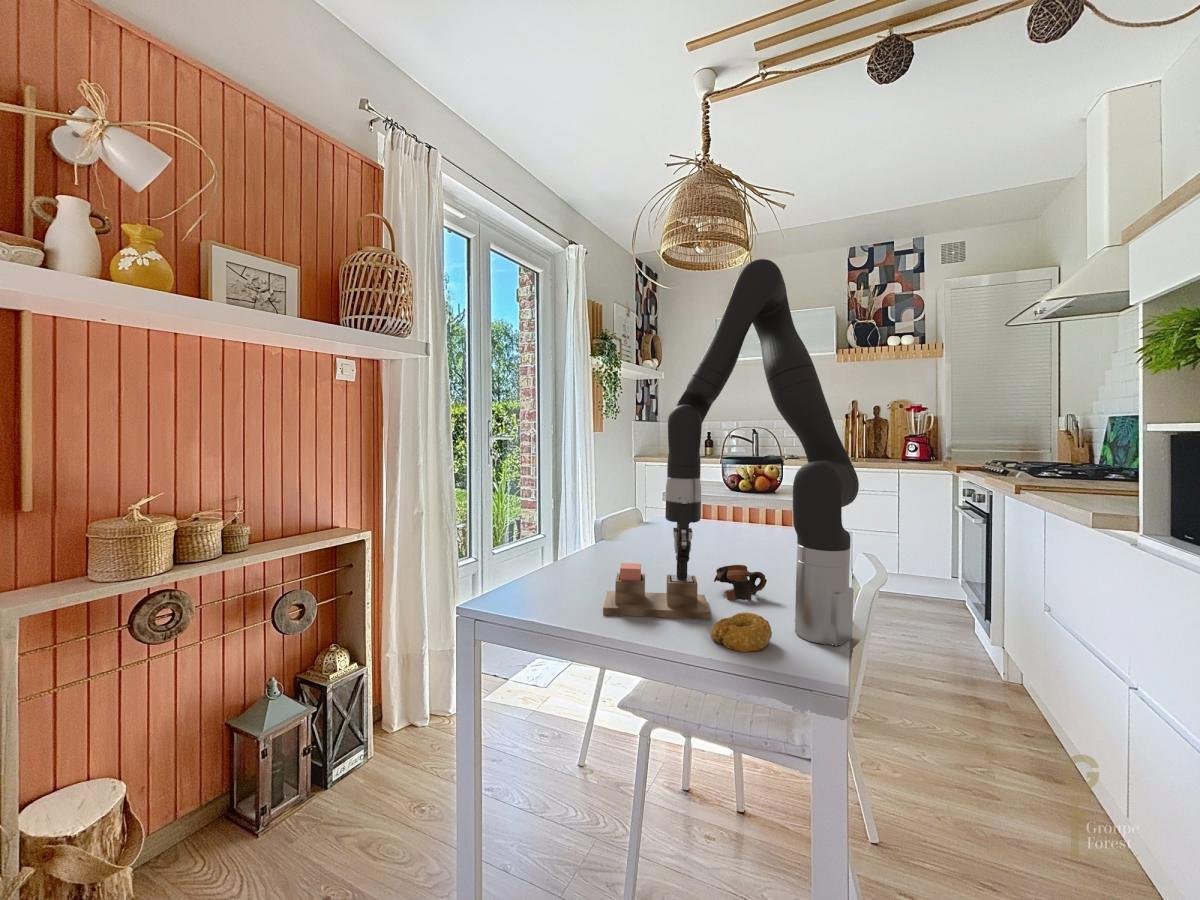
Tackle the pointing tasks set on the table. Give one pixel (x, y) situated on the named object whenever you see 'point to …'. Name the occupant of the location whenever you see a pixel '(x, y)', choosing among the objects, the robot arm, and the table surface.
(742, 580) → the pottery mug
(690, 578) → the white block
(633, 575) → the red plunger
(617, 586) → the wooden block stand
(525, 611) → the table surface
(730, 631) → the bagel
